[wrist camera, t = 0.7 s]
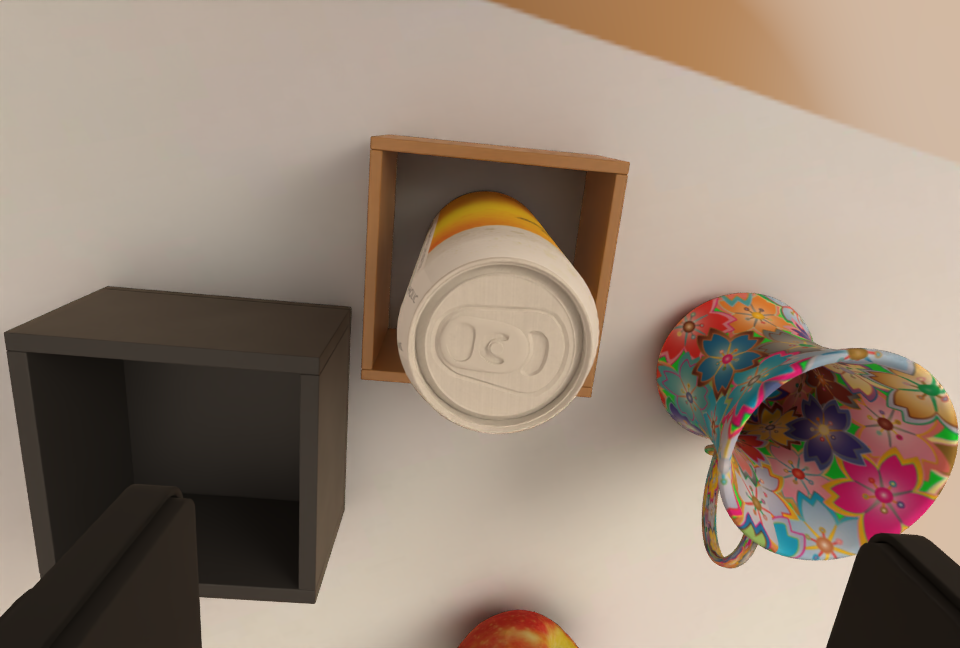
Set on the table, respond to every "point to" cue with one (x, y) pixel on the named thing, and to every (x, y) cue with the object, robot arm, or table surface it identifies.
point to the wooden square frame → (601, 177)
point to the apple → (517, 632)
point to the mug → (803, 430)
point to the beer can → (495, 318)
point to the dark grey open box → (191, 427)
